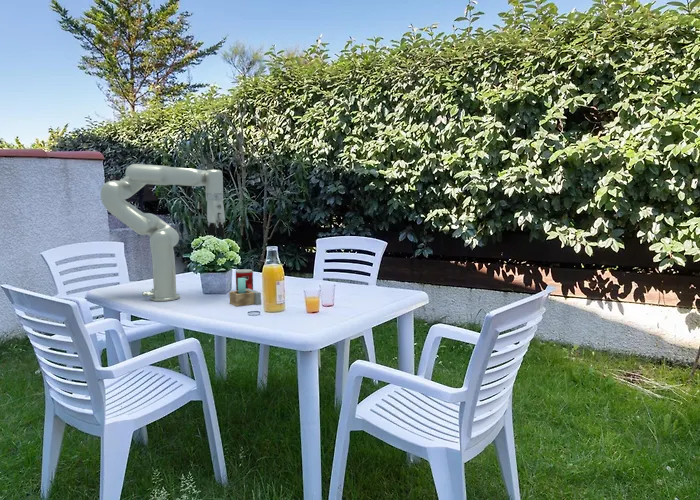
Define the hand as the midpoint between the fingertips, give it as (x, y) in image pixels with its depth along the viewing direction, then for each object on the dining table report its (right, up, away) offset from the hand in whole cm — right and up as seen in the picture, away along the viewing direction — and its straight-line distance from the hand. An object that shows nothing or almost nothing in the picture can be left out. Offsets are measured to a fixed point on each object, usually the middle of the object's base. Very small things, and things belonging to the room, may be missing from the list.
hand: (215, 235), depth 220 cm
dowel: (+14, -29, -9) cm, 33 cm away
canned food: (+10, -27, +13) cm, 32 cm away
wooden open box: (+14, -30, -9) cm, 34 cm away
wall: (+18, -29, -6) cm, 35 cm away
